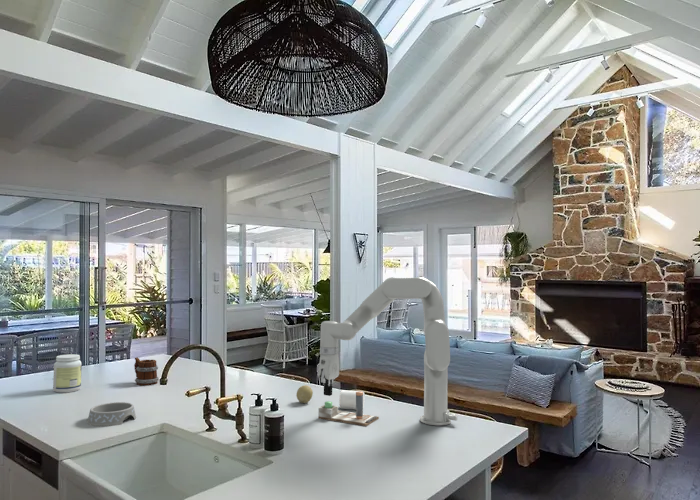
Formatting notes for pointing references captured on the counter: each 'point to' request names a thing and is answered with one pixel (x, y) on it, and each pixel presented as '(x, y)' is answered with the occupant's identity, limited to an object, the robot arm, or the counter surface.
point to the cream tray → (344, 416)
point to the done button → (328, 404)
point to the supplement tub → (67, 373)
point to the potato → (304, 394)
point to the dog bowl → (110, 414)
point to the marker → (359, 405)
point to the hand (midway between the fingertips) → (327, 394)
